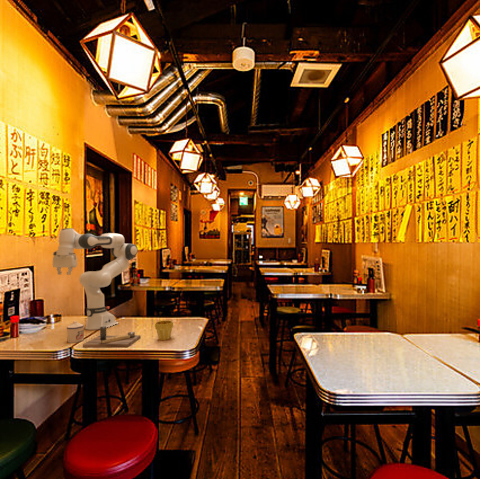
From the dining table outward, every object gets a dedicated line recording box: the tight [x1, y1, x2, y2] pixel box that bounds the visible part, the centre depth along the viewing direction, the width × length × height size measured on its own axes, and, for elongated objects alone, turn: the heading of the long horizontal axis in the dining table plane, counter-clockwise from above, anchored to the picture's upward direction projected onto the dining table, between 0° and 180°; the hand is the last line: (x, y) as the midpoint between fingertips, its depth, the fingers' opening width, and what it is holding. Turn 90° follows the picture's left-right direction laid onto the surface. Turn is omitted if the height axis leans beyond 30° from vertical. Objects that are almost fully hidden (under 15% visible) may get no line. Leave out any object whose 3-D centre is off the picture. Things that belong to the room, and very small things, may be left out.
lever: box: [99, 326, 136, 343], centre depth 192 cm, size 20×4×9 cm, turn 130°
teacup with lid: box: [66, 320, 84, 344], centre depth 200 cm, size 12×9×12 cm
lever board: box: [82, 334, 141, 348], centre depth 192 cm, size 18×26×2 cm
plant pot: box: [154, 319, 174, 341], centre depth 197 cm, size 10×10×10 cm
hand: (64, 274), depth 212 cm, fingers open, 8 cm apart
